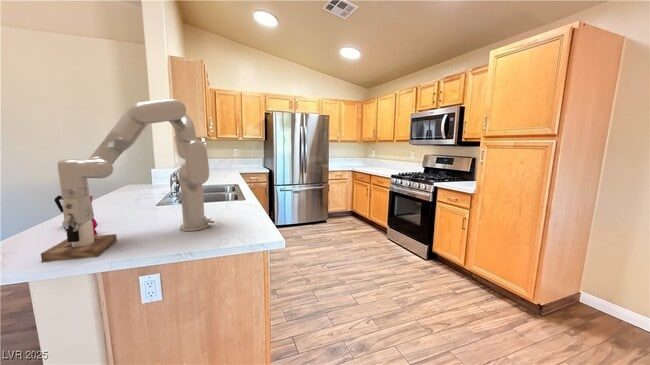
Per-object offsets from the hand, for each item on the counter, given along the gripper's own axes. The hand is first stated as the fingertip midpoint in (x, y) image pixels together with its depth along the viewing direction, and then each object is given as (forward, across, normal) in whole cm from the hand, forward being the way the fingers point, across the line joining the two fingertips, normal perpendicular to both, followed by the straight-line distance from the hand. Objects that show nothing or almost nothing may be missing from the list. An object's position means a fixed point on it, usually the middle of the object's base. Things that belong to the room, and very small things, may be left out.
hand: (81, 237), depth 101 cm
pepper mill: (+6, +19, +7) cm, 21 cm away
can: (+6, 0, 0) cm, 6 cm away
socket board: (+5, 0, 0) cm, 5 cm away
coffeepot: (+6, +35, +18) cm, 40 cm away
